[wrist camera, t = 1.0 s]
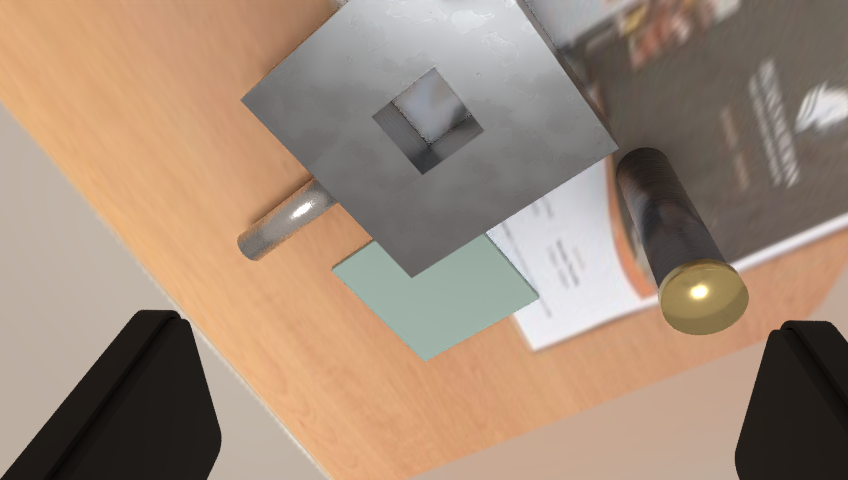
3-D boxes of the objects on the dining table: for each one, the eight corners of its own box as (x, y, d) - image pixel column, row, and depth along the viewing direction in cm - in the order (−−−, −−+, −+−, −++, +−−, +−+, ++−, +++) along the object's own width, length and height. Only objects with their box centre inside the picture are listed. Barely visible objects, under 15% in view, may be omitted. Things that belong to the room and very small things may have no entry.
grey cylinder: (654, 133, 36) (725, 255, 25) (683, 176, 37) (762, 311, 26) (602, 166, 37) (647, 295, 26) (631, 206, 38) (686, 346, 27)
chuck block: (455, -97, 30) (450, -91, 27) (607, 120, 35) (619, 148, 32) (179, 153, 39) (149, 182, 36) (331, 299, 44) (318, 336, 41)
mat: (447, 189, 39) (446, 191, 38) (538, 295, 42) (538, 298, 42) (332, 267, 43) (331, 270, 42) (425, 358, 46) (424, 361, 46)
